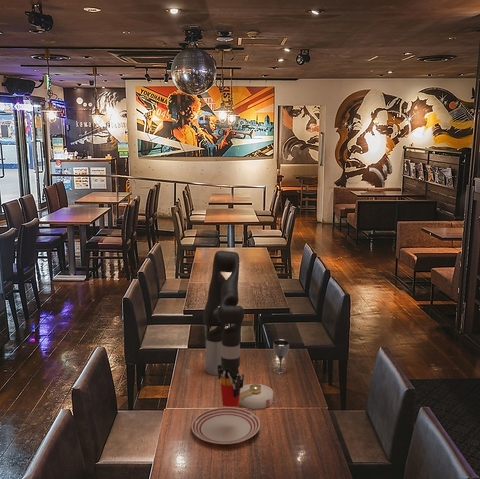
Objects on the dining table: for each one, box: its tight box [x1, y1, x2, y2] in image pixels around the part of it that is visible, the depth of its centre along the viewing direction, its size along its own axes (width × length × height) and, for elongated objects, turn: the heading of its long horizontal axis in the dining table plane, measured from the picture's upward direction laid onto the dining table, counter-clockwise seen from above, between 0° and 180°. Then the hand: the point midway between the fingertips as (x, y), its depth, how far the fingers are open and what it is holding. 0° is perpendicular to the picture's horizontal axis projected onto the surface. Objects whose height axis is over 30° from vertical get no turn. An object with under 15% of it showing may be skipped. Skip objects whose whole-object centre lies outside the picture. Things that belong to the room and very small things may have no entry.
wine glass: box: [272, 339, 290, 374], centre depth 270 cm, size 8×8×15 cm
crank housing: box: [239, 383, 274, 410], centre depth 239 cm, size 16×16×4 cm
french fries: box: [220, 377, 240, 408], centre depth 215 cm, size 8×4×12 cm, turn 88°
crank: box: [239, 383, 261, 399], centre depth 235 cm, size 16×5×7 cm, turn 131°
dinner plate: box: [190, 406, 261, 445], centre depth 215 cm, size 28×27×3 cm
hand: (230, 393), depth 215 cm, fingers closed on french fries, 6 cm apart
